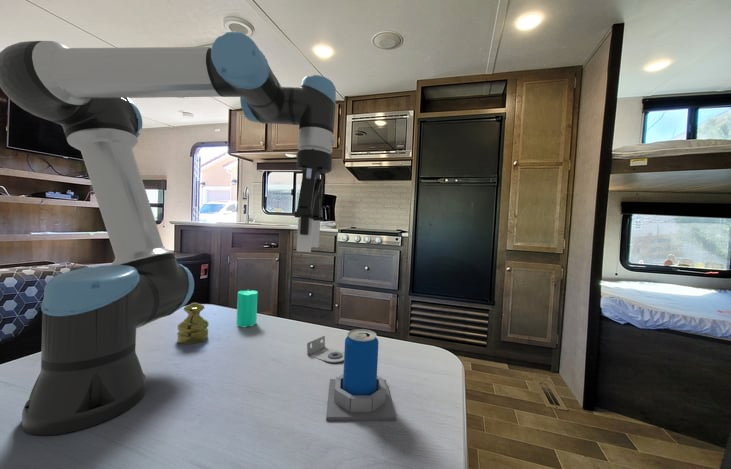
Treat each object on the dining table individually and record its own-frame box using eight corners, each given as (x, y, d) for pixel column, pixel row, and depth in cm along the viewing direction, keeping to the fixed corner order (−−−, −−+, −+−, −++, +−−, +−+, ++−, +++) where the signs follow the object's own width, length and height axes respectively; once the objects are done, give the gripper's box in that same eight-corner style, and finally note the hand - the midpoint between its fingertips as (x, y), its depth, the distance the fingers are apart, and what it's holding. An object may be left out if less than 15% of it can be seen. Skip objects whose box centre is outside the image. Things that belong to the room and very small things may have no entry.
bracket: (337, 367, 66) (337, 353, 66) (306, 356, 72) (307, 342, 72) (353, 358, 72) (353, 344, 72) (323, 347, 77) (324, 335, 77)
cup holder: (326, 420, 48) (326, 402, 48) (329, 381, 60) (330, 367, 60) (395, 420, 48) (396, 403, 48) (385, 382, 60) (386, 368, 60)
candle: (232, 325, 89) (233, 288, 89) (243, 320, 95) (245, 284, 95) (249, 328, 88) (251, 290, 88) (259, 321, 94) (261, 286, 94)
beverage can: (381, 393, 55) (384, 333, 55) (364, 411, 50) (367, 344, 49) (354, 382, 58) (357, 326, 58) (335, 397, 53) (338, 335, 53)
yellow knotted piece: (200, 332, 83) (202, 298, 83) (213, 338, 78) (214, 303, 78) (172, 339, 77) (173, 303, 77) (183, 347, 72) (185, 308, 72)
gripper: (327, 135, 49) (319, 255, 49) (335, 166, 74) (329, 246, 74) (284, 131, 49) (276, 252, 49) (306, 164, 74) (301, 244, 74)
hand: (308, 249), depth 62 cm, fingers open, 13 cm apart
